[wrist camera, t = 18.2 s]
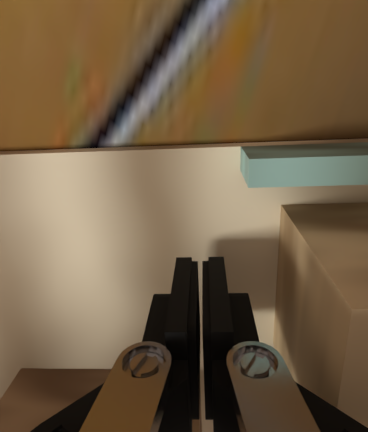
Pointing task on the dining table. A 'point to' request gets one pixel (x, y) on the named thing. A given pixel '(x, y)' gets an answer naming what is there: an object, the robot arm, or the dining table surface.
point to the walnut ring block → (49, 396)
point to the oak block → (325, 302)
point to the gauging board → (146, 237)
